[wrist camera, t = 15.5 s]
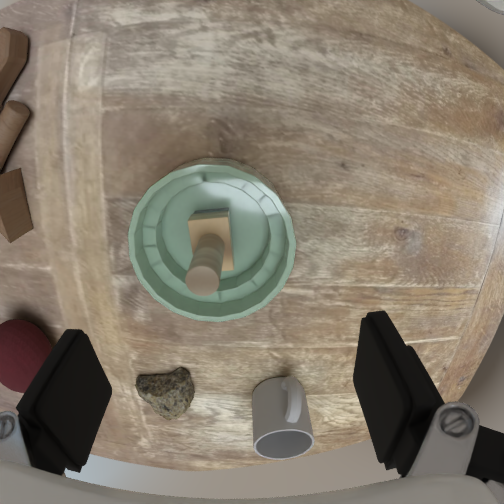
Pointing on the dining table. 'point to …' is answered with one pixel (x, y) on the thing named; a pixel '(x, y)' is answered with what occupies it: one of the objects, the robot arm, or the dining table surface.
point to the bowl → (243, 236)
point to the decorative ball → (21, 353)
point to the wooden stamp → (209, 250)
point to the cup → (281, 419)
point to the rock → (167, 392)
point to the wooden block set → (12, 136)
